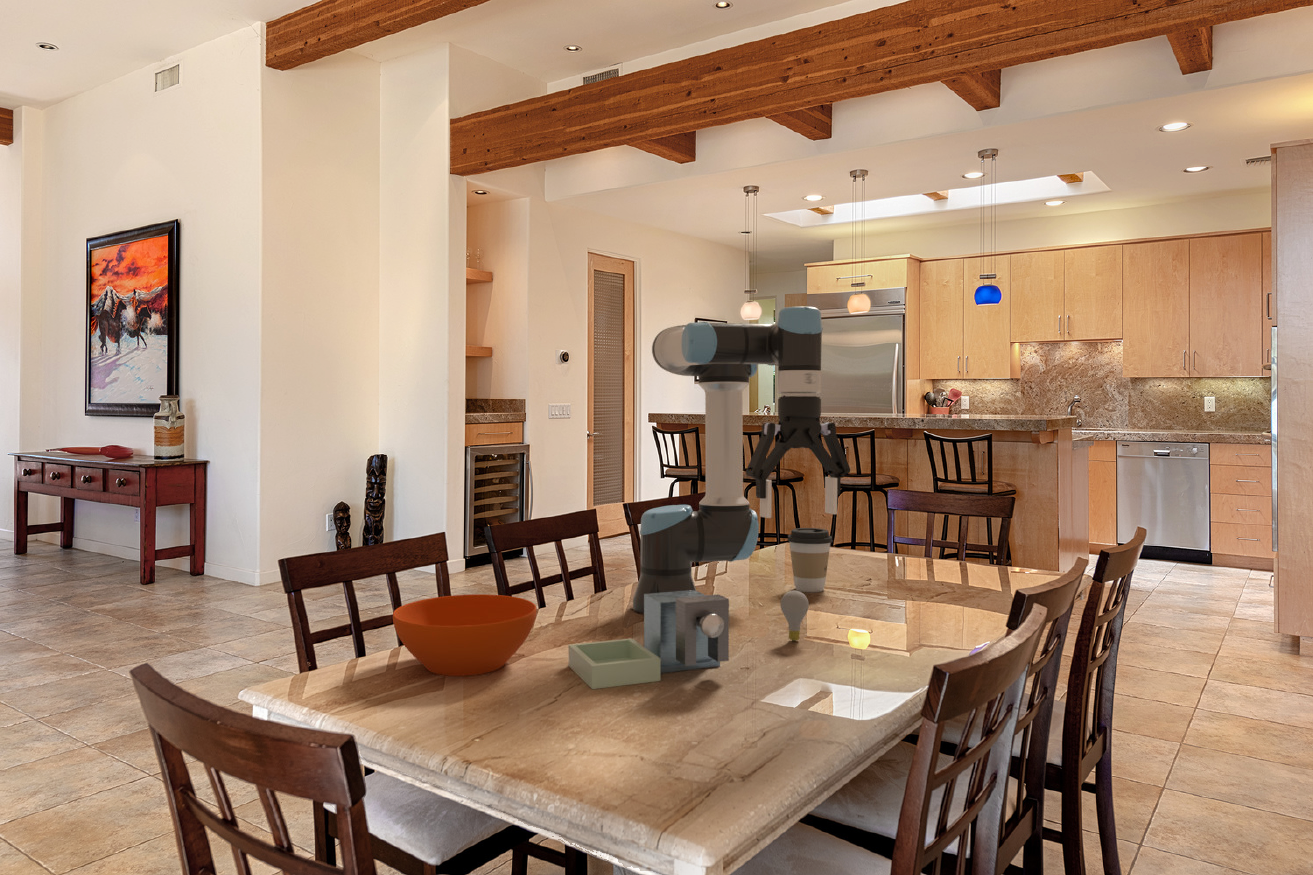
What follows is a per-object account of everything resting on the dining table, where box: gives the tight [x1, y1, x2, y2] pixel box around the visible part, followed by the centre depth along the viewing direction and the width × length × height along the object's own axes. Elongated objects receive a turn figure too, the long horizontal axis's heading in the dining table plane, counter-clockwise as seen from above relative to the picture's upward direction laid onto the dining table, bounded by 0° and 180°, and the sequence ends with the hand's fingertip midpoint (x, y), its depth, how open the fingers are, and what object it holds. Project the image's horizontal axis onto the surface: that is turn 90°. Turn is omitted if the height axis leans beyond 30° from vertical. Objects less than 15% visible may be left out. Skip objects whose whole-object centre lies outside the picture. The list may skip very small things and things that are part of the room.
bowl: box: [392, 593, 538, 677], centre depth 159 cm, size 25×25×10 cm
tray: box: [568, 637, 661, 690], centre depth 154 cm, size 14×12×4 cm
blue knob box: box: [643, 589, 724, 674], centre depth 156 cm, size 20×12×12 cm, turn 22°
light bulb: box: [780, 589, 810, 642], centre depth 175 cm, size 6×6×10 cm
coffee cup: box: [787, 527, 834, 593], centre depth 225 cm, size 11×11×15 cm
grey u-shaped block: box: [676, 594, 730, 666], centre depth 151 cm, size 4×8×10 cm, turn 112°
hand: (798, 515), depth 158 cm, fingers open, 13 cm apart
